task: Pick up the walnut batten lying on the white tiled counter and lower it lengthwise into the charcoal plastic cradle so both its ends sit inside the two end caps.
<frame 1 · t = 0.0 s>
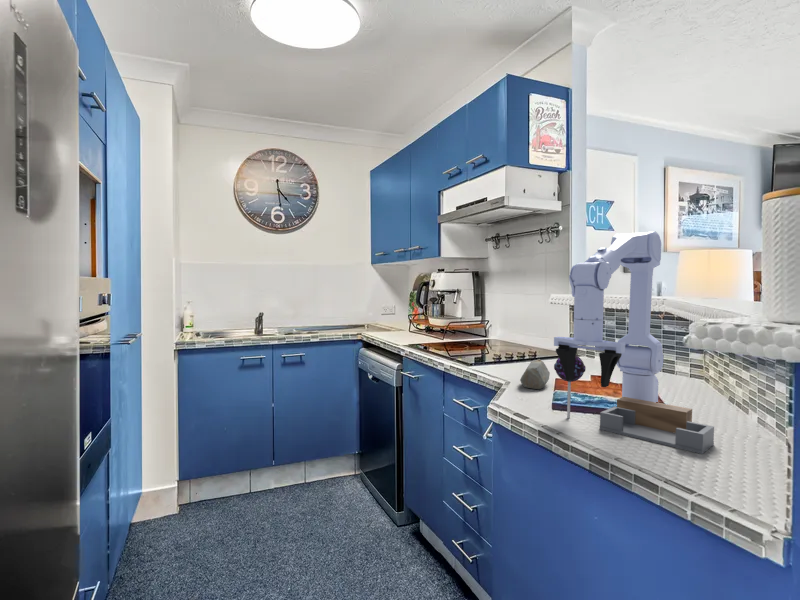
hand: (586, 383, 97), 10 cm above the counter, tool pointing down, fingers open, 7 cm apart
slat: (652, 426, 101), on the counter
cradle: (653, 436, 94), on the counter
lollipop: (568, 418, 106), on the counter
stone: (535, 386, 140), on the counter
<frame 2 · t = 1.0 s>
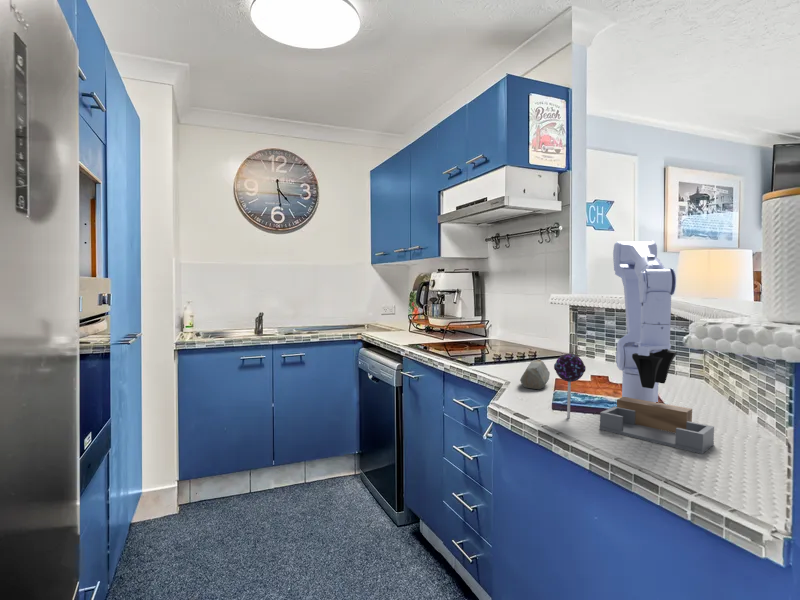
hand: (653, 385, 101), 9 cm above the counter, tool pointing down, fingers open, 7 cm apart
nothing on the counter moved.
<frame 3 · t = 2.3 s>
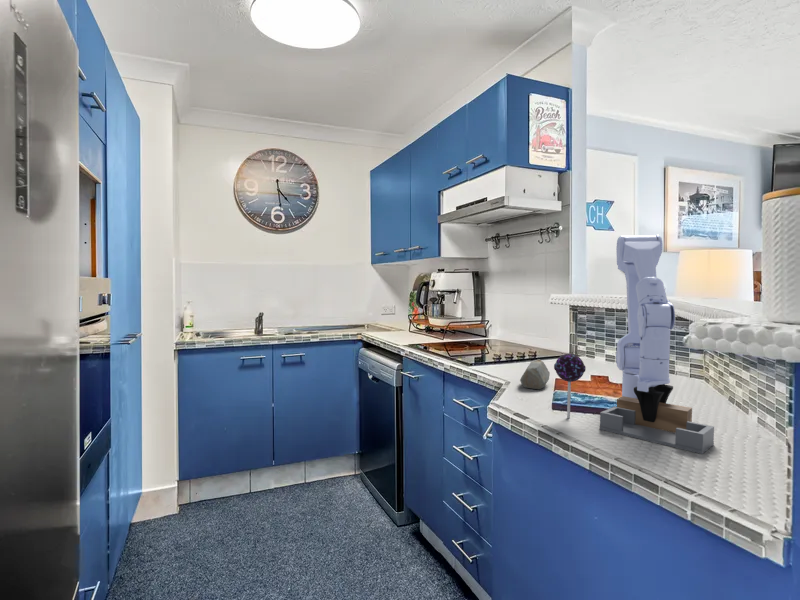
hand: (652, 418, 101), 1 cm above the counter, tool pointing down, fingers closed on slat, 4 cm apart
slat: (652, 425, 101), on the counter, touching gripper
everything else where it was.
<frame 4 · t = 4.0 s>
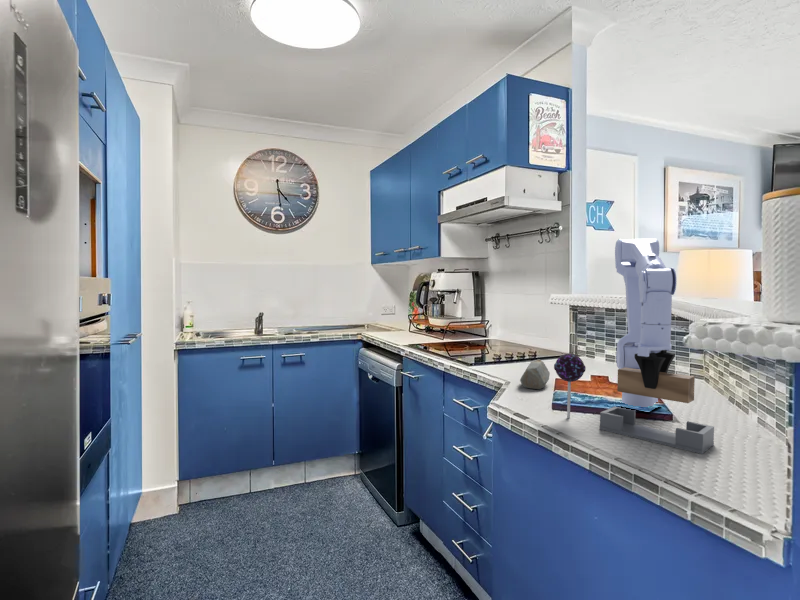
hand: (654, 386, 99), 9 cm above the counter, tool pointing down, fingers closed on slat, 4 cm apart
slat: (654, 395, 99), point 7 cm above the counter, touching gripper
everything else where it was.
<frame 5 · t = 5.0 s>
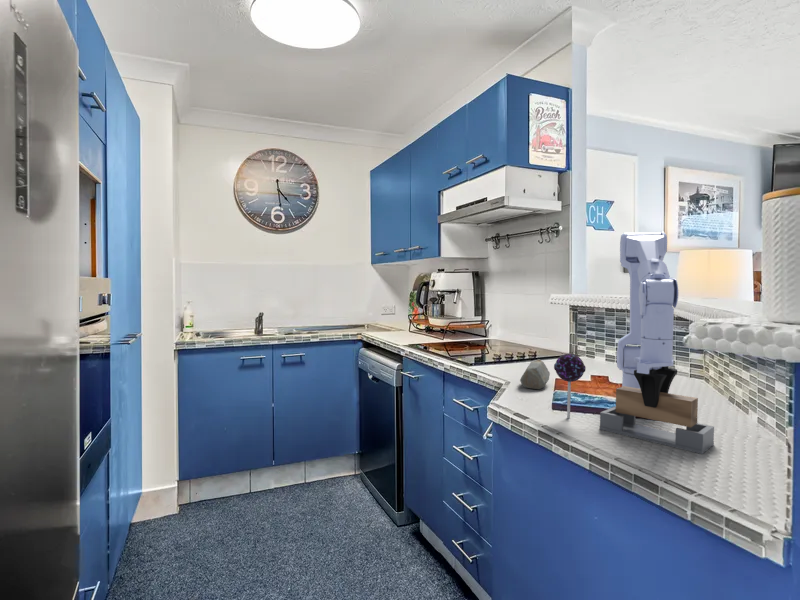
hand: (654, 404, 93), 7 cm above the counter, tool pointing down, fingers closed on slat, 4 cm apart
slat: (654, 417, 93), point 4 cm above the counter, touching gripper
everything else where it was.
when the fingers open (4 cm above the counter, at t = 5.9 s): slat stays where it is, resting on cradle.
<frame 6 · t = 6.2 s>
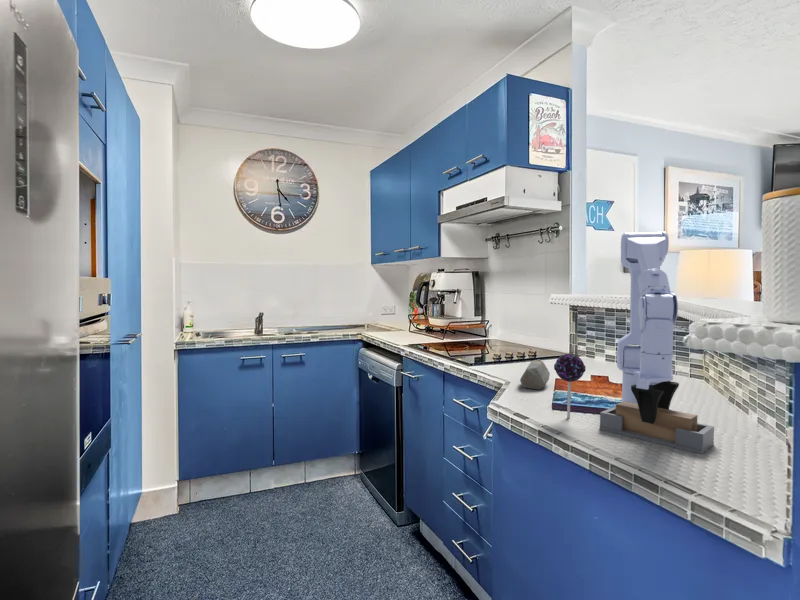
hand: (654, 419, 94), 4 cm above the counter, tool pointing down, fingers open, 6 cm apart
slat: (654, 433, 94), point 1 cm above the counter, touching cradle
everything else where it was.
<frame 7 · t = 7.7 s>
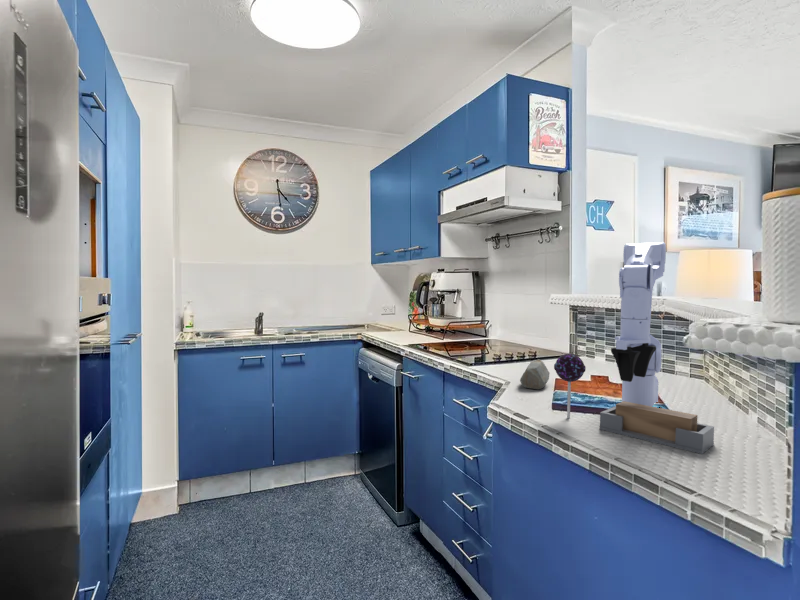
hand: (633, 378, 103), 10 cm above the counter, tool pointing down, fingers open, 7 cm apart
nothing on the counter moved.
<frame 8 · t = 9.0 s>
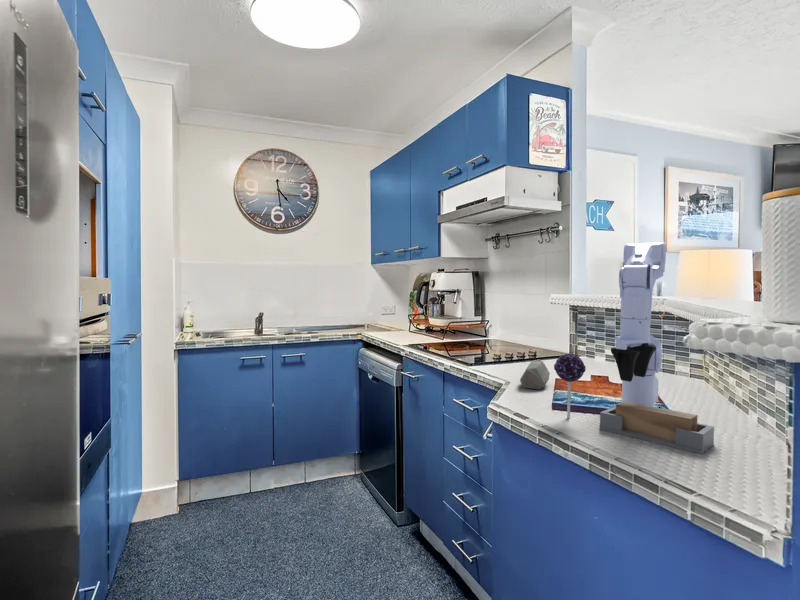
hand: (633, 378, 103), 10 cm above the counter, tool pointing down, fingers open, 7 cm apart
nothing on the counter moved.
at the end: slat 0.1 cm off-centre on the cradle, point 0.6 cm above the cradle's base; slat tilted 0°; the gripper is holding nothing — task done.
